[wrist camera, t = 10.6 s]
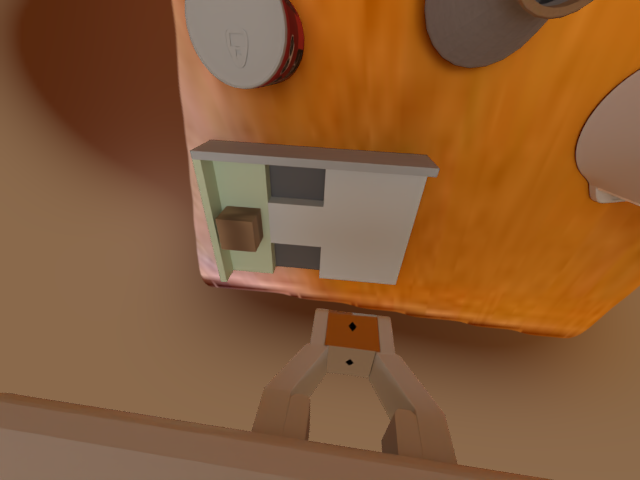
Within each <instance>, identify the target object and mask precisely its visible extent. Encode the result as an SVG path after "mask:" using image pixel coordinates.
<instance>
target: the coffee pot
mask: <svg viewBox="0 0 640 480" xmlns="http://www.w3.org/2000/svg"><path fill="white" fill-rule="evenodd" d="M592 1H593V0H425V10H424V11H425V19H426V28H427V32H428V34H429V37H430V39H431V42H432V45H433V46H434V47H435V49H436V50H437V51H438V52H439V54H440V55H441V56H442V57H443V58H444V59H446V60H448V61H449V62H451V63H452V64H454V65H457V66H462V67H467V68H474V67H483V66H487V65H490V64H492V63H495V62H498V61H500V60H503V59H504V58H506V57H507V56H509V55H510V54H512V53H513V52H515V51H516V50H518V49H519V48H521V47H522V46H523V45H524V44H525V43H526V42H527V41H528V40H529V39H530V38H531V37H532V36H533V35H534V34H535V33H536V32H537V31H538V30H539V29H540V28H541V27H542V26H543V25H544V23H545V22H546V21H547V20H548V19H553V18H561V17H564V16H566V15H569V14H571V13H574V12H576V11H578V10H580V9H581V8H583V7H584V6H586V5H587V4H589V3H590V2H592Z"/></svg>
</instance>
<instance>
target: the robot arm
mask: <svg viewBox="0 0 640 480" xmlns="http://www.w3.org/2000/svg"><path fill="white" fill-rule="evenodd" d="M576 162H577V166H578V168H579V170H580V172H581V173H582V175H583V176H584V177H585V178H586V179H587V181H588V182H589V192H590V197H591V199H592V200H594V201H596V202H599V203H612V202H623V201H628V202H630V203H633V204H635V205H638V206H640V70H639V71H637V72H636V73H634V74H633V75H631V76H630V77H628V78H627V79H626V80H625V81H623V82H622V83H621V84H620V85H618V86H617V87H616V88H615V89H614V90H613V91H612V92H611V93H610V94H609V95H608V96H607V97H606V98H605V99H604V100H603V101H602V102H601V103H600V104H599V105H598V107H597V108H596V109H595V110H594V112H593V113H592V115H591V116H590V117H589V119H588V121H587V122H586V124H585V126H584V128H583V130H582V132H581V134H580V137H579V140H578V144H577V148H576ZM328 312H329V313H328ZM326 373H335V374H343V375H351V376H358V377H363V378H369V381H370V383H371V385H372V387H373V388H374V390H375V392H376V394H377V396H378V398H379V400H380V402H381V403H382V405H383V407H384V409H385V411H386V413H387V415H388V417H389V419H390V420H391V421H390V424H389V425H388V428H387V430H386V432H385V434H384V436H383V439H382V452H376V451H370V450H363V449H357V448H351V447H345V446H338V445H332V444H326V443H320V442H313V441H308V438H309V430H310V429H309V428H310V399H309V398H310V396H311V395H312V393H313V392H314V391H315V389H316V388H317V386H318V385H319V384H320V382H321V381H322V379H323V378H324V376H325V375H326ZM0 480H552V479H545V478H539V477H533V476H527V475H520V474H514V473H508V472H501V471H495V470H489V469H483V468H476V467H469V466H464V465H458V464H457V460H456V456H455V453H454V449H453V445H452V441H451V437H450V433H449V429H448V425H447V421H446V417H445V414H444V413H443V411H442V410H441V409H440V407H439V406H438V405H437V404H436V402H435V401H434V400H433V399H432V397H431V396H430V394H429V393H428V392H427V390H426V389H425V388H424V387H423V385H422V384H421V383H420V381H418V379H417V378H416V376H415V375H414V374H413V372H412V371H411V370H410V369H409V367H408V366H407V364H406V363H405V362H404V361H403V359H402V358H401V357H400V356H399V355H395V348H394V341H393V333H392V326H391V319H390V318H389V317H386V316H376V315H370V314H360V313H348V312H341V311H334V310H326V309H316V312H315V317H314V323H313V330H312V335H311V341H310V344H309V343H306V344H305V345H304V346H303V347H302V348H301V350H300V351H299V352H298V353H297V354H296V355H295V356H294V357H293V358H292V359H291V360H290V361H289V362H288V363H287V365H285V366H284V367H283V369H282V370H281V371H280V372H279V373H278V374H277V375H276V376H275V377H274V378H273V379H272V380H271V381H270V382H269V383H268V384H267V386H266V387H265V388H264V390H263V394H262V397H261V401H260V404H259V407H258V411H257V414H256V418H255V421H254V424H253V428H252V431H251V432H250V431H244V430H238V429H232V428H225V427H218V426H213V425H206V424H199V423H193V422H187V421H181V420H175V419H169V418H162V417H156V416H150V415H143V414H137V413H130V412H125V411H118V410H112V409H106V408H99V407H93V406H86V405H80V404H74V403H68V402H61V401H55V400H48V399H42V398H36V397H30V396H24V395H18V394H13V393H0Z"/></svg>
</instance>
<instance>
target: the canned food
mask: <svg viewBox="0 0 640 480" xmlns="http://www.w3.org/2000/svg"><path fill="white" fill-rule="evenodd" d="M185 16H186V24H187V29H188V32H189V36H190V39H191V42H192V44H193V46H194V49H195V51H196V53H197V55H198V56H199V58H200V60H201V61H202V63H203V64H204V65H205V67H206V68H207V69H208V70H209V71H210V72H211V73H212V74H213V75H214V76H215V77H216V78H217V79H219V80H220V81H222V82H224V83H225V84H227V85H230V86H232V87H236V88H241V89H252V88H259V87H264V86H268V85H272V84H276V83H280V82H282V81H285V80H286V79H288V78H289V77H290V76H291V75H292V74H293V73H294V72H295V71H296V69H297V68H298V66H299V63H300V61H301V59H302V54H303V49H304V35H303V28H302V24H301V21H300V18H299V16H298V13H297V11H296V10H295V8H294V6H293V5H292V4H291V2H290V1H289V0H185Z"/></svg>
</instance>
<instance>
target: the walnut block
mask: <svg viewBox="0 0 640 480" xmlns="http://www.w3.org/2000/svg"><path fill="white" fill-rule="evenodd" d="M215 220H216V225H217V230H218V234H219V239H220V243H221V248H222V249H224V250H235V251H247V252H256V251H257V249H258V247H259V245H260V243H261V241H262V239H263V229H262V219H261V208H249V207H236V206H226V207H225V208H224V210H223V211H222V212H221V213H220V214H219V215H218V217H217V218H216V219H215Z"/></svg>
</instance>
